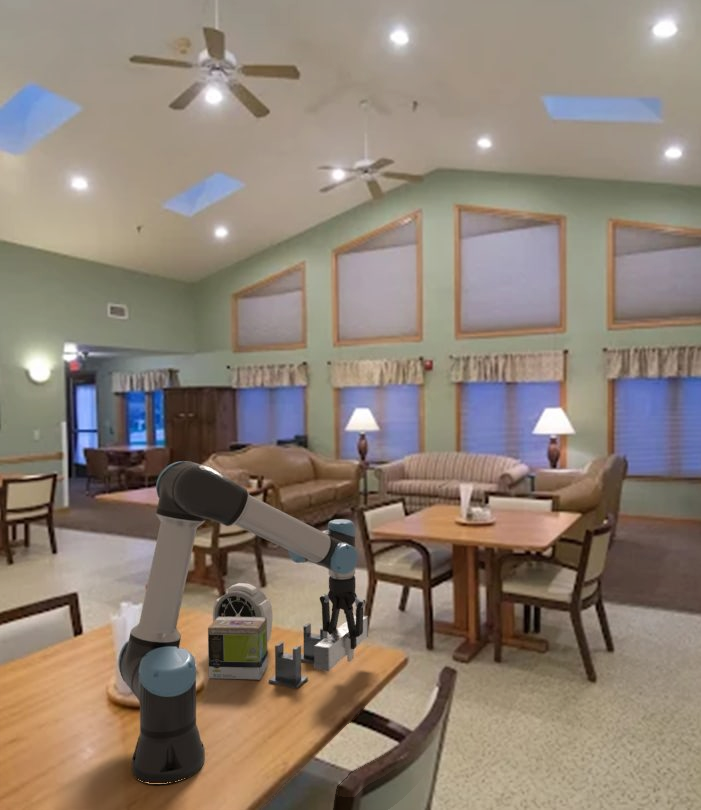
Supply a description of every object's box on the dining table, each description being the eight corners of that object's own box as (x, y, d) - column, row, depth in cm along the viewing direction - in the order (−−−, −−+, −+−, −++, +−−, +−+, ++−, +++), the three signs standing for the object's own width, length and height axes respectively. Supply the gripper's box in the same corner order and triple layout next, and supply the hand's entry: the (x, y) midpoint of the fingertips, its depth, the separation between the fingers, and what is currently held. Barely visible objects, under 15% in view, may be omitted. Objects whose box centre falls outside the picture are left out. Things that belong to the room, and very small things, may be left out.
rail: (328, 671, 164) (327, 648, 164) (314, 668, 166) (314, 645, 166) (368, 636, 188) (367, 616, 188) (355, 634, 190) (355, 614, 189)
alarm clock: (210, 650, 197) (210, 586, 197) (223, 640, 205) (223, 578, 205) (263, 656, 192) (262, 590, 192) (274, 646, 200) (274, 582, 200)
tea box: (268, 666, 185) (267, 616, 185) (260, 681, 175) (259, 628, 175) (218, 664, 187) (218, 614, 187) (207, 679, 177) (207, 627, 177)
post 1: (296, 688, 171) (296, 652, 170) (268, 682, 174) (268, 646, 174) (307, 679, 176) (307, 644, 176) (280, 673, 180) (279, 639, 180)
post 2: (324, 665, 185) (324, 632, 185) (297, 660, 189) (297, 627, 189) (333, 658, 190) (333, 625, 190) (307, 653, 194) (307, 620, 194)
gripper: (375, 575, 176) (376, 658, 177) (321, 568, 184) (322, 648, 184) (364, 582, 169) (365, 668, 170) (308, 575, 177) (309, 658, 177)
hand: (342, 658), depth 177 cm, fingers closed on rail, 4 cm apart
